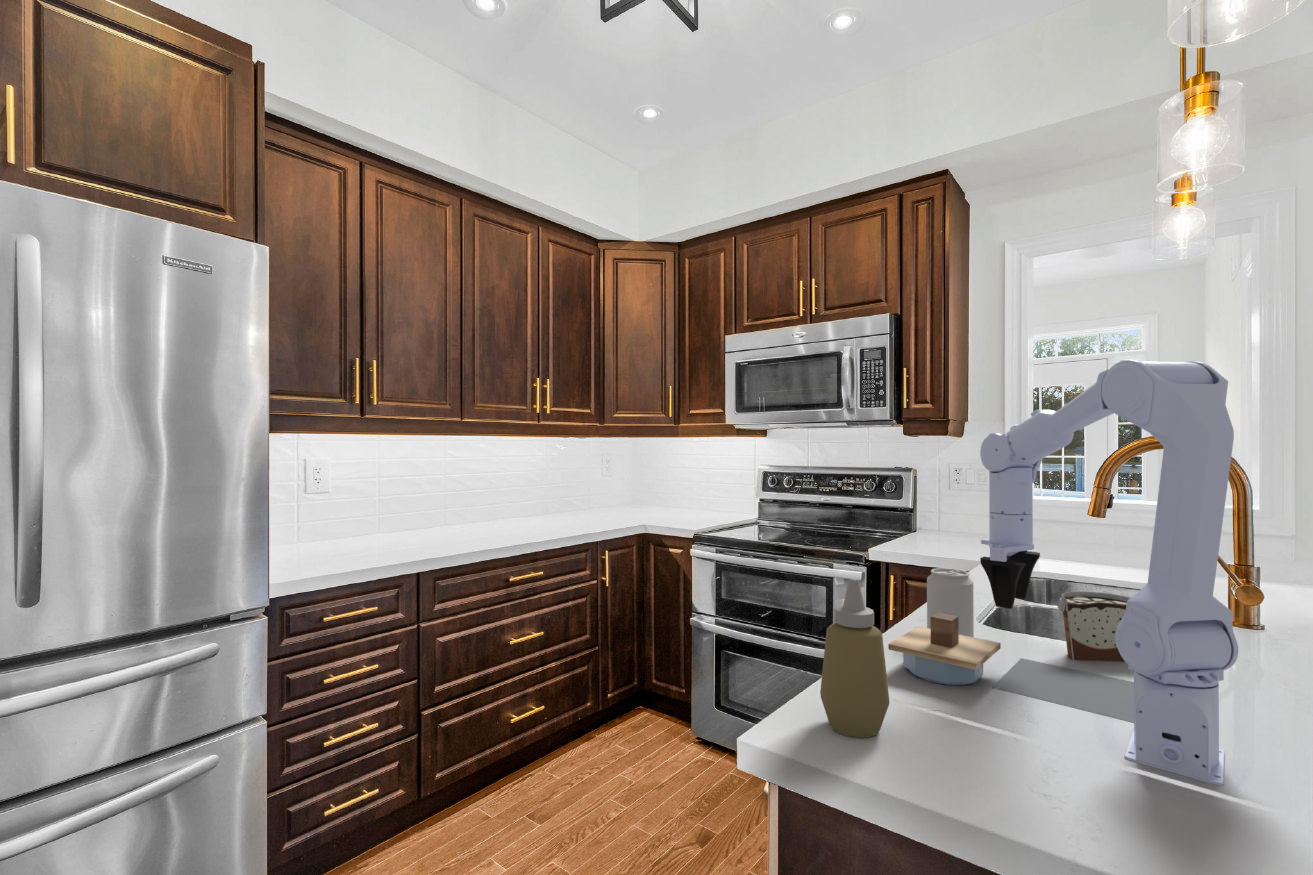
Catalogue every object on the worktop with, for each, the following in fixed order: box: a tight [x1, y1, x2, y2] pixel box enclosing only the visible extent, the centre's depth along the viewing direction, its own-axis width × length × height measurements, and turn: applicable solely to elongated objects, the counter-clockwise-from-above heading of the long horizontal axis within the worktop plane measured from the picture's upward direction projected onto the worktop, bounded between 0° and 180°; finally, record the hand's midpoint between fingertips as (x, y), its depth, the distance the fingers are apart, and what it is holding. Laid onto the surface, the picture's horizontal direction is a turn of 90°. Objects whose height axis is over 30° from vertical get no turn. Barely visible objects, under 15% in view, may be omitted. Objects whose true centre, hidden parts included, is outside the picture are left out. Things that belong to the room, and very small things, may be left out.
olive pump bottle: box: [819, 578, 891, 738], centre depth 75 cm, size 8×8×18 cm
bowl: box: [902, 653, 984, 686], centre depth 92 cm, size 10×10×4 cm
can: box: [926, 567, 975, 638], centre depth 109 cm, size 8×8×12 cm
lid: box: [887, 613, 1002, 670], centre depth 92 cm, size 12×12×5 cm
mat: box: [991, 658, 1134, 724], centre depth 87 cm, size 16×16×1 cm
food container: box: [1057, 591, 1131, 663], centre depth 100 cm, size 12×6×10 cm, turn 84°
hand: (1010, 602), depth 94 cm, fingers open, 7 cm apart
